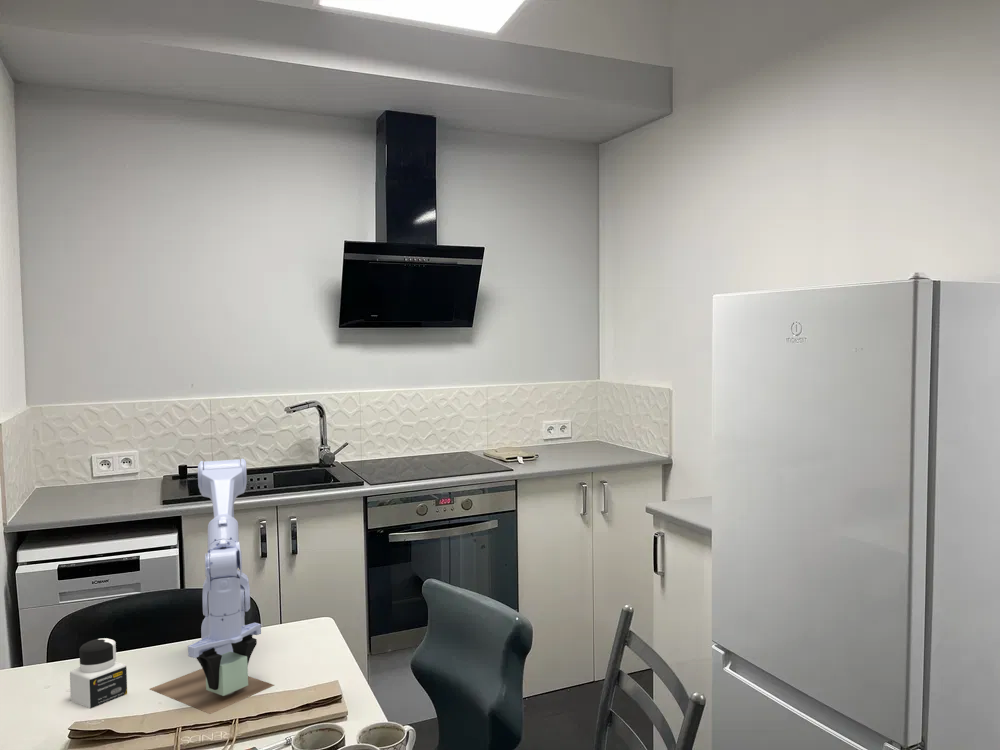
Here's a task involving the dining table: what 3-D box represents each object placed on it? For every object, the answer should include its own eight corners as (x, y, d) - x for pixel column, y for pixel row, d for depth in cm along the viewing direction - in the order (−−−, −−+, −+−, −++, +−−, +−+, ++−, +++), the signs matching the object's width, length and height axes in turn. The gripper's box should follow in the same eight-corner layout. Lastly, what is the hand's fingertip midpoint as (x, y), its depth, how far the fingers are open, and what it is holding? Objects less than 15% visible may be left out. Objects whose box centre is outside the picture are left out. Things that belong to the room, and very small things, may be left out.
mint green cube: (206, 689, 138) (205, 660, 138) (231, 679, 143) (230, 651, 143) (223, 696, 135) (222, 666, 135) (248, 685, 140) (247, 656, 140)
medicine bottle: (90, 716, 134) (88, 651, 134) (70, 708, 138) (68, 644, 138) (128, 701, 140) (126, 638, 140) (107, 693, 144) (105, 632, 144)
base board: (149, 696, 142) (148, 673, 142) (213, 671, 153) (212, 649, 153) (210, 722, 130) (209, 697, 130) (274, 692, 142) (274, 669, 142)
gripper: (202, 626, 131) (205, 702, 131) (270, 604, 143) (272, 673, 143) (180, 619, 135) (182, 693, 135) (247, 598, 147) (249, 666, 147)
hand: (227, 682), depth 139 cm, fingers closed on mint green cube, 5 cm apart
